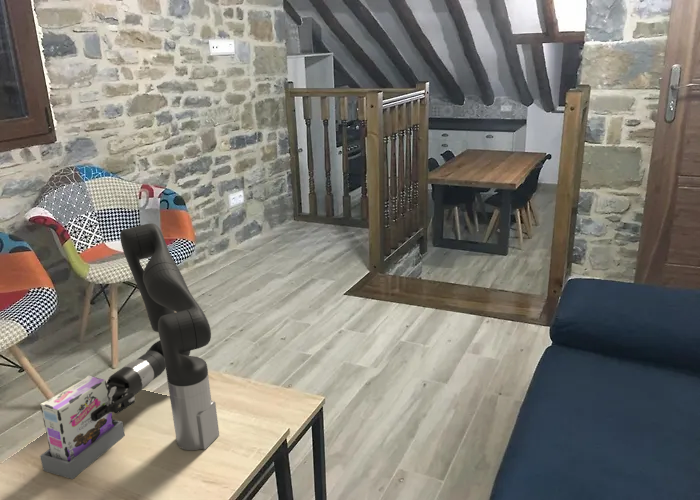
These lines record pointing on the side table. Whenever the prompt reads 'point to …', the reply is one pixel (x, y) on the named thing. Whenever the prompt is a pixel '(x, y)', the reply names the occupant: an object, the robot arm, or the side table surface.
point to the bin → (83, 454)
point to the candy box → (75, 418)
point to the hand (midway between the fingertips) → (81, 415)
